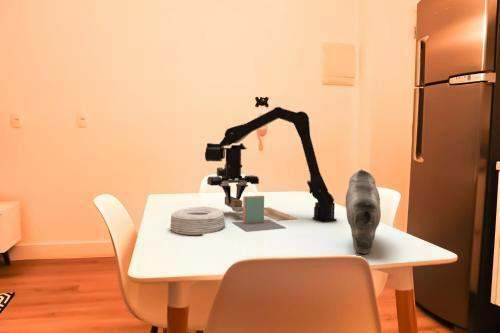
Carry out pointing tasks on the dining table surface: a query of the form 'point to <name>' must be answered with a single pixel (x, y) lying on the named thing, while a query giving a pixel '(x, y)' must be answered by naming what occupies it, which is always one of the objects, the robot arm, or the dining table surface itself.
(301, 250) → the dining table surface
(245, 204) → the tile
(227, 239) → the dining table surface
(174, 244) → the dining table surface
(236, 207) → the brown wooden plank
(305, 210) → the dining table surface
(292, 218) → the board
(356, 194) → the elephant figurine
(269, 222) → the mat
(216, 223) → the cable
